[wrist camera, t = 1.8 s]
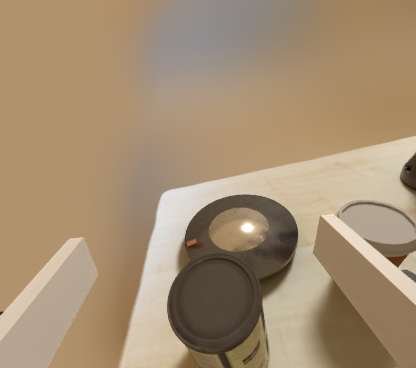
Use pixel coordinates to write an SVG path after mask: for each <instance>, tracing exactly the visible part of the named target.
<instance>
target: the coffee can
mask: <svg viewBox="0 0 416 368" xmlns="http://www.w3.org/2000/svg"><path fill="white" fill-rule="evenodd" d="M167 312H168V318H169V322H170V325H171V327H172V329H173V331H174V333H175V334H176V336H177V337H178V338H179V339H180V340H181V341H182V342H183V343H184V344H185V346H186V347H187V349H188V350H189V351H190V353H191V354H192V356H193V357H194V359H195V360H196V362H197V363H198V364H199V366H200V367H201V368H267V367H268V363H269V356H270V349H269V342H268V338H267V332H266V326H265V320H264V313H263V307H262V291H261V286H260V283H259V280H258V278H257V276H256V274H255V272H254V271H253V269H252V268H251V267H250V266H249V265H248V264H247V263H246V262H245V261H243V260H242V259H240V258H238V257H236V256H234V255H230V254H226V253H212V254H207V255H204V256H201V257H199V258H197V259H195V260H193V261H192V262H190V263H189V264H187V265H186V266H185V267H184V268H183V269H182V270H181V271H180V273H179V274H178V275H177V277H176V278H175V280H174V282H173V284H172V286H171V289H170V292H169V296H168V302H167Z"/></svg>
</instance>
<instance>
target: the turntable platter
mask: <svg viewBox="0 0 416 368" xmlns="http://www.w3.org/2000/svg"><path fill="white" fill-rule="evenodd" d="M297 243H298V228H297V224H296V222H295V219H294V218H293V216H292V215H291V213H290V212H289V211H288V210H287V209H286V208H285V207H284V206H282V205H281V204H279V203H278V202H276V201H274V200H271V199H269V198H266V197H262V196H257V195H234V196H229V197H225V198H222V199H219V200H216V201H214V202H212V203H210V204H208V205H207V206H205V207H204V208H202V209H201V210H200V211H199V212H198V213H197V214H196V215H195V216H194V217H193V219H192V220H191V221H190V223H189V225H188V227H187V230H186V234H185V245H186V249H187V252H188V255H189V257H190V259H191V261H193V260H195V259H197V258H199V257H201V256H204V255H207V254H212V253H226V254H230V255H234V256H236V257H238V258H240V259H242V260H243V261H245V262H246V263H247V264H248V265H249V266H250V267H251V268H252V269H253V271H254V272H255V274H256V276H257V278H258V280H259V281H261V280H264V279H267V278H269V277H271V276H273V275H275V274H276V273H278V272H279V271H281V270H282V269H283V268H284V267H285V266H286V265H287V264H288V263H289V262H290V260H291V259H292V257H293V255H294V254H295V251H296V248H297Z"/></svg>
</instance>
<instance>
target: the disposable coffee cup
mask: <svg viewBox="0 0 416 368" xmlns="http://www.w3.org/2000/svg"><path fill="white" fill-rule="evenodd" d="M335 216H337V217H338V218H339V219H340V220H341V221H342V222H344V223H345V224H346V225H347V226H348V227H350V228H351V229H352V230H353V231H354V232H356V233H357V234H358V235H359V236H360V237H362V238H363V239H364V240H365V241H366V242H367V243H369V244H370V245H371V246H372V247H373V248H375V249H376V250H377V251H378V252H379V253H381V254H382V255H383V256H384V257H385V258H386V259H388V260H389V261H390V262H391V263H392V264H394V265H395V266H396V267H397V268H398V267H399V265H400V264H401V263H402V262H403V260H404V259H405V258H406V257H407V255H408V254H409V253H412V252H414V251H415V250H416V219H415V218H414V217H413V216H412V215H410V214H409V213H408V212H406V211H405V210H403V209H401V208H399V207H396V206H394V205H391V204H388V203H384V202H379V201H373V200H358V201H352V202H349V203H347V204H345V205H344V206H342V207H341V209H340V210H339V211H338V212H337V213H336V214H335Z"/></svg>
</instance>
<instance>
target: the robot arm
mask: <svg viewBox="0 0 416 368" xmlns="http://www.w3.org/2000/svg"><path fill="white" fill-rule="evenodd" d="M401 179H402V181H403V182H404V183H405V184H407V185H408V186H410V187H411V188H413V189H415V190H416V153H415V154H414V155H413V156H412V157H411V158H410V159H409V160H408V162H407V163H406V164H405V165H404V167H403V169H402V172H401ZM313 254H314V255H315V256H316V258H317V259H318V260H319V262H320V263H321V264H322V266H323V267H324V268H325V269H326V271H327V272H328V273H329V275H330V276H331V277H332V279H333V280H334V281H335V283H336V284H337V285H338V287H339V288H340V289H341V291H342V292H343V293H344V295H345V296H346V297H347V298H348V300H349V301H350V302H351V304H352V305H353V306H354V308H355V309H356V310H357V312H358V313H359V314H360V316H361V317H362V318H363V320H364V321H365V322H366V324H367V325H368V326H369V327H370V329H371V330H372V331H373V333H374V334H375V335H376V337H377V338H378V339H379V341H380V342H381V343H382V345H383V346H384V347H385V349H386V350H387V351H388V353H389V354H390V355H391V356H392V358H393V359H394V360H395V362H396V363H397V364H398V366H399V367H400V368H416V275H415V274H414V273H412V272H410V271H408V270H400V269H398V268H397V267H396V266H395V265H394V264H392V263H391V262H390V261H389V260H388V259H386V258H385V257H384V256H383V255H382V254H381V253H379V252H378V251H377V250H376V249H375V248H373V247H372V246H371V245H370V244H369V243H367V242H366V241H365V240H364V239H363V238H362V237H360V236H359V235H358V234H357V233H356V232H354V231H353V230H352V229H351V228H350V227H348V226H347V225H346V224H345V223H344V222H342V221H341V220H340V219H339V218H338V217H337V216H335V215H334V214H329V215H320V220H319V225H318V230H317V235H316V240H315V246H314V251H313ZM97 276H98V272H97V269H96V267H95V264H94V262H93V260H92V257H91V255H90V252H89V250H88V247H87V245H86V242H85V240H84V238H83V237H81V238H71V239H68V241H67V242H66V243H65V244H64V245H63V246H62V247H61V248H60V250H59V251H58V252H57V253H56V254H55V255H54V256H53V258H52V259H51V260H50V261H49V262H48V263H47V264H46V265H45V266H44V268H43V269H42V270H41V271H40V272H39V273H38V274H37V275H36V277H35V278H34V279H33V280H32V281H31V282H30V283H29V285H28V286H27V287H26V288H25V289H24V290H23V291H22V292H21V293H20V295H19V296H18V297H17V298H16V299H15V300H14V301H13V302H12V304H11V305H10V306H9V307H8V308H7V309H6V310H5V311H4V312H0V368H47V367H48V366H49V364H50V362H51V360H52V358H53V356H54V355H55V353H56V351H57V349H58V347H59V345H60V344H61V342H62V340H63V338H64V336H65V334H66V333H67V331H68V329H69V327H70V325H71V323H72V322H73V320H74V318H75V316H76V314H77V313H78V311H79V309H80V307H81V305H82V303H83V301H84V300H85V298H86V296H87V294H88V292H89V291H90V289H91V287H92V285H93V283H94V281H95V280H96V278H97Z"/></svg>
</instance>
